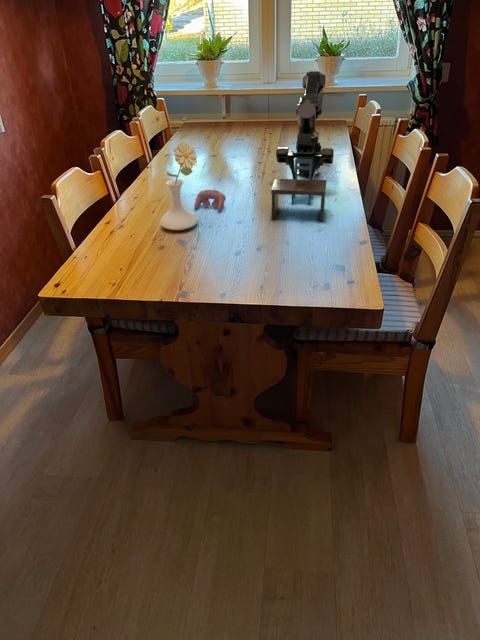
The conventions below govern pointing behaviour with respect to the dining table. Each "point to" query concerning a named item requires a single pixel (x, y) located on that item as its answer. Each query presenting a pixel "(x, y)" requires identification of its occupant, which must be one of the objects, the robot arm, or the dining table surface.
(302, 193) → the desk
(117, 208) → the dining table surface
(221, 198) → the video game controller
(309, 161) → the chair
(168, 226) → the flower in vase
